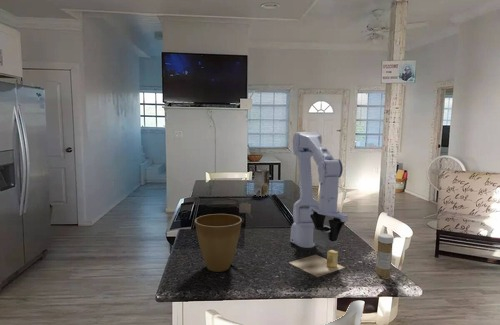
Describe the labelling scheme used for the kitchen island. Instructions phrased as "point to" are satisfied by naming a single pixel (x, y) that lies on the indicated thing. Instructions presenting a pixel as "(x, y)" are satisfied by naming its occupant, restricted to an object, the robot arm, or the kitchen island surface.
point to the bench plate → (315, 265)
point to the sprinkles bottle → (384, 255)
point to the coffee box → (261, 182)
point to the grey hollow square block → (323, 237)
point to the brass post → (332, 258)
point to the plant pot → (218, 239)
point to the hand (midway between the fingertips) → (326, 237)
